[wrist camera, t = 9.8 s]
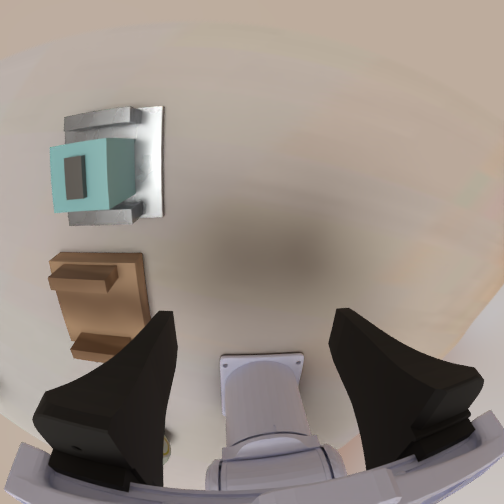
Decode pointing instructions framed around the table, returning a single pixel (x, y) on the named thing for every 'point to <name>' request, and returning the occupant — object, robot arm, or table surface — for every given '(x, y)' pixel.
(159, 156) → the lower dock
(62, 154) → the plug
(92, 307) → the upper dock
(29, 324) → the table surface
